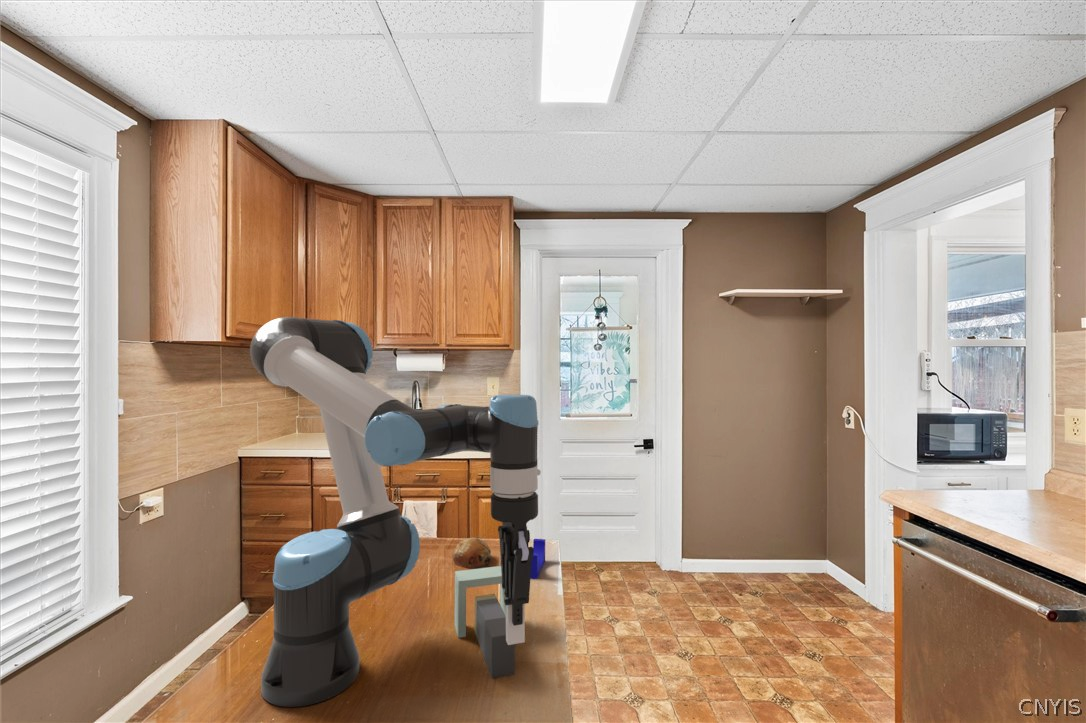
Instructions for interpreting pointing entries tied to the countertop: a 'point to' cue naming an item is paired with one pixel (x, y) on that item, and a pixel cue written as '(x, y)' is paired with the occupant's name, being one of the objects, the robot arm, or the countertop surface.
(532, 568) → the blue cradle block
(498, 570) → the pale green arch
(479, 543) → the bread roll
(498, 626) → the grey rectangular block
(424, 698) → the countertop surface
